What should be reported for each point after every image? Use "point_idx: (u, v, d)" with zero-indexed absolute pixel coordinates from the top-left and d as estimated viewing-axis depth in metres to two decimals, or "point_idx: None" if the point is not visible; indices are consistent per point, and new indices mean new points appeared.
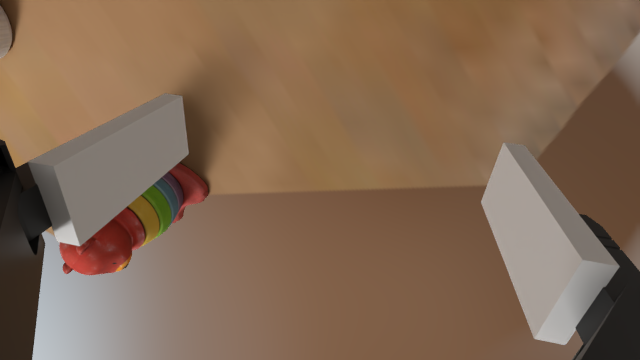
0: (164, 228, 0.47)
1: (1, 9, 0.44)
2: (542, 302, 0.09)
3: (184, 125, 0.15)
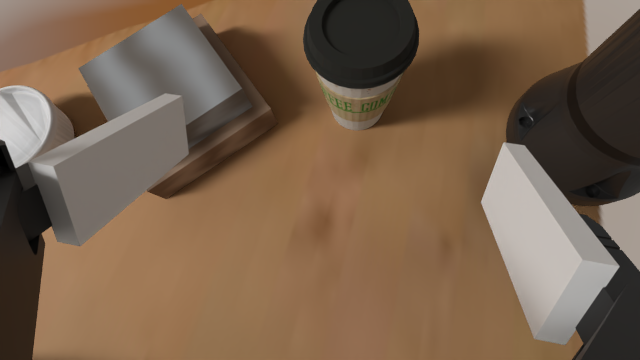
0: None
1: None
2: (542, 302, 0.09)
3: (184, 125, 0.15)
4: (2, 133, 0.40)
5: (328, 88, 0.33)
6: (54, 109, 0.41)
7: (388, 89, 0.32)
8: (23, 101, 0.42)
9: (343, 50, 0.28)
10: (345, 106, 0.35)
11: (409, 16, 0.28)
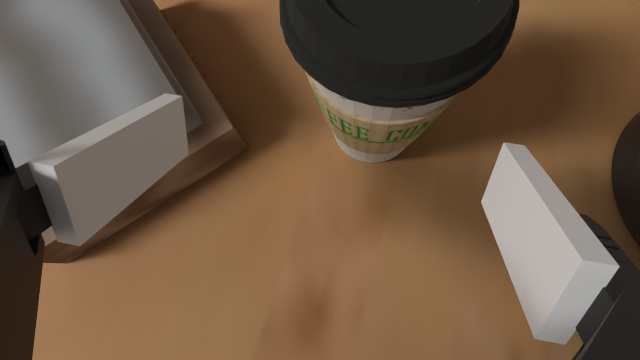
0: None
1: None
2: (542, 302, 0.09)
3: (184, 125, 0.15)
4: None
5: (327, 101, 0.17)
6: None
7: (442, 106, 0.17)
8: None
9: (361, 23, 0.13)
10: (358, 133, 0.19)
11: None
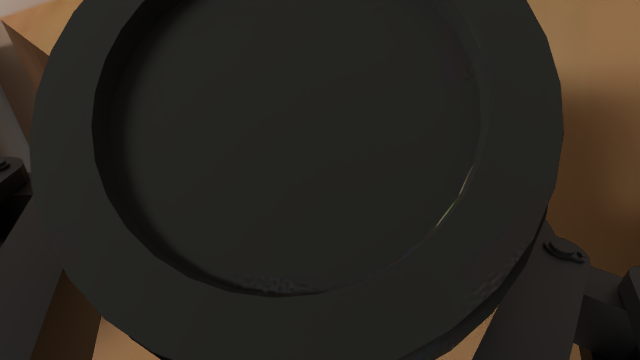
0: None
1: None
2: None
3: None
4: None
5: None
6: None
7: None
8: None
9: (185, 238, 0.05)
10: None
11: (532, 68, 0.05)
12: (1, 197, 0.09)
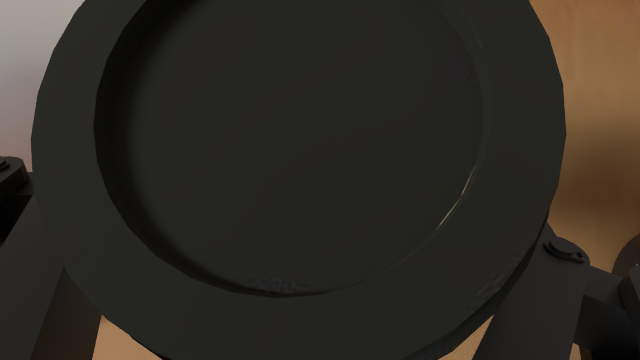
0: None
1: None
2: None
3: None
4: None
5: None
6: None
7: None
8: None
9: (188, 239, 0.05)
10: None
11: (534, 68, 0.05)
12: (1, 197, 0.09)
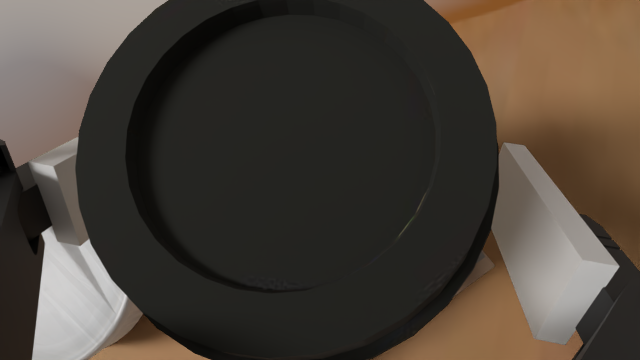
0: None
1: (138, 320, 0.28)
2: (542, 302, 0.09)
3: None
4: (51, 296, 0.24)
5: None
6: None
7: None
8: None
9: (201, 248, 0.07)
10: None
11: (474, 111, 0.07)
12: None
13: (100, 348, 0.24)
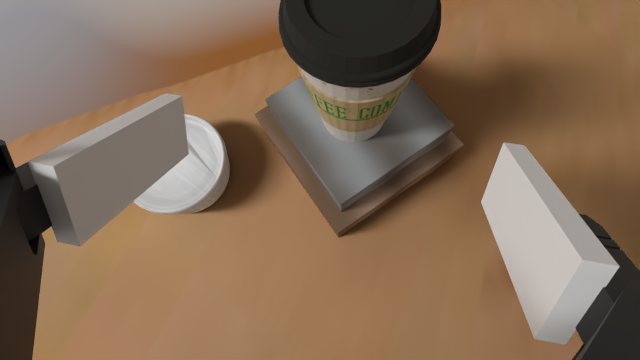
0: None
1: (221, 194, 0.41)
2: (542, 302, 0.09)
3: (184, 125, 0.15)
4: None
5: (314, 87, 0.24)
6: None
7: (396, 89, 0.23)
8: (187, 131, 0.39)
9: (334, 31, 0.19)
10: (338, 112, 0.26)
11: None
12: None
13: (206, 198, 0.36)
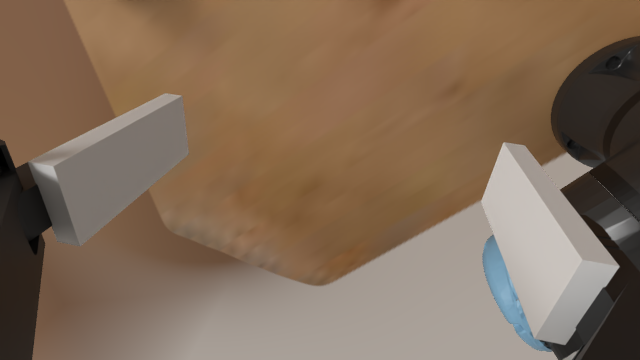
0: None
1: None
2: (542, 302, 0.09)
3: (184, 125, 0.15)
4: None
5: None
6: None
7: None
8: None
9: None
10: None
11: None
12: None
13: None
